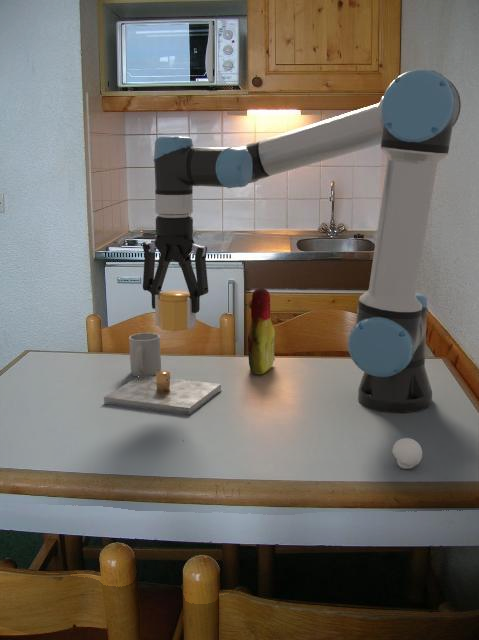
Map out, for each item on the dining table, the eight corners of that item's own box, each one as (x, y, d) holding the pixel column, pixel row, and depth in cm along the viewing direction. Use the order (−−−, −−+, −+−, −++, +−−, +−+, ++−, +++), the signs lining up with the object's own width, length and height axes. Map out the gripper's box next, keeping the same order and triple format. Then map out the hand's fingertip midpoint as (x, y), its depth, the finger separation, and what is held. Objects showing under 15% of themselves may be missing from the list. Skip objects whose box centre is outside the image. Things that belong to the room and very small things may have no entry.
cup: (164, 368, 180) (162, 333, 178) (154, 381, 171) (152, 344, 169) (135, 367, 181) (133, 332, 179) (123, 380, 172) (121, 343, 170)
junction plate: (221, 390, 163) (220, 366, 162) (189, 414, 149) (188, 388, 148) (141, 381, 171) (140, 358, 170) (104, 403, 156) (102, 378, 155)
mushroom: (393, 459, 126) (394, 432, 125) (422, 462, 125) (423, 435, 124) (390, 471, 122) (391, 443, 121) (420, 475, 120) (422, 446, 119)
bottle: (269, 378, 171) (268, 293, 167) (242, 377, 173) (240, 292, 168) (278, 363, 183) (277, 283, 178) (253, 362, 184) (251, 283, 179)
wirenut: (196, 324, 157) (196, 292, 155) (183, 332, 151) (182, 298, 149) (169, 321, 159) (168, 289, 157) (154, 328, 153) (153, 295, 151)
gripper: (226, 215, 149) (225, 326, 155) (140, 211, 156) (143, 317, 162) (210, 219, 142) (211, 335, 148) (122, 214, 149) (125, 325, 155)
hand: (175, 325), depth 155 cm, fingers closed on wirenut, 7 cm apart
